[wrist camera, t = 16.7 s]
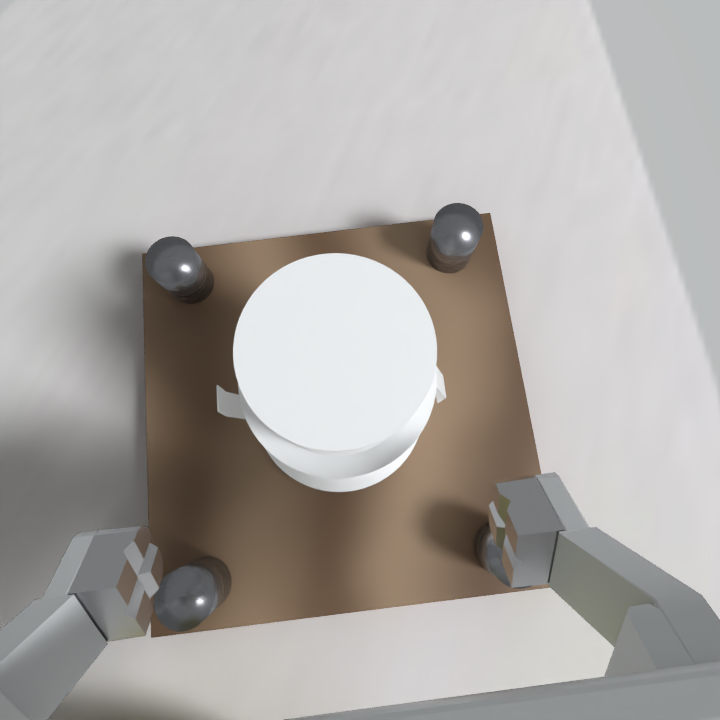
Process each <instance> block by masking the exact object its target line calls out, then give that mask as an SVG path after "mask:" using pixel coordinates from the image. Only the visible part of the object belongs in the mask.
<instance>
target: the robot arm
mask: <svg viewBox="0 0 720 720" xmlns="http://www.w3.org/2000/svg"><path fill="white" fill-rule="evenodd" d="M490 494H491V497H492V500H493V501H492V502H491V503H490V504H489V512H488V516H489V523H490V529H491V533H492V536H493V539H494V542H495V545H496V546H498V547H499V548H500V549H501V550H503V554H502V564H503V566H504V569H505V571H506V574H507V577H508V579H509V582H510V585H511V587H512V588H514V587H524V586H534V585H543V584H549V587H550V588H552V589H553V590H554V591H555V592H556V593H557V594H558V595H559V596H560V597H561V598H562V599H563V600H564V601H565V602H567V603H568V604H569V605H570V606H571V607H572V608H573V609H574V610H575V611H576V612H577V613H578V614H579V615H581V616H582V617H583V618H584V619H585V620H586V621H587V622H588V623H589V624H590V625H591V626H592V627H593V628H595V629H596V630H597V631H598V632H599V633H600V634H601V635H602V636H603V637H604V638H605V639H606V640H607V641H609V642H610V643H611V644H612V645H613V646H614V647H615V648H614V651H613V653H612V656H611V659H610V662H609V665H608V668H607V670H606V673H605V677H598V678H591V679H584V680H576V681H569V682H561V683H554V684H546V685H539V686H532V687H524V688H517V689H509V690H502V691H495V692H487V693H479V694H472V695H464V696H457V697H449V698H442V699H434V700H427V701H419V702H412V703H404V704H397V705H389V706H382V707H374V708H367V709H359V710H352V711H344V712H337V713H329V714H322V715H315V716H307V717H300V718H292V719H285V720H720V620H719V618H718V617H717V615H716V614H715V613H714V611H713V610H712V608H711V607H710V606H709V604H708V603H707V601H706V600H705V599H704V597H703V596H702V595H701V594H699V593H698V592H696V591H695V590H693V589H691V588H690V587H688V586H687V585H685V584H684V583H682V582H681V581H679V580H678V579H676V578H674V577H673V576H671V575H670V574H668V573H667V572H665V571H664V570H662V569H660V568H659V567H657V566H656V565H654V564H653V563H651V562H650V561H648V560H646V559H645V558H643V557H642V556H640V555H639V554H637V553H636V552H634V551H632V550H631V549H629V548H628V547H626V546H625V545H623V544H622V543H620V542H618V541H617V540H615V539H614V538H612V537H611V536H609V535H608V534H606V533H604V532H603V531H601V530H600V529H598V528H597V527H592V528H590V527H589V526H588V524H587V522H586V521H585V519H584V517H583V516H582V514H581V512H580V511H579V509H578V507H577V505H576V504H575V502H574V500H573V499H572V497H571V495H570V494H569V492H568V490H567V488H566V487H565V485H564V483H563V482H562V480H561V478H560V477H559V475H558V474H556V473H555V472H554V473H547V474H539V475H534V476H532V475H530V476H522V477H515V478H508V479H501V480H494V481H492V482H491V484H490ZM151 536H152V534H151V533H150V531H149V529H148V527H147V526H135V527H125V528H115V529H105V530H98V531H89V532H80V533H78V534H77V535H76V536H74V537H73V539H72V540H71V542H70V544H69V546H68V548H67V550H66V552H65V554H64V556H63V558H62V560H61V562H60V564H59V566H58V568H57V570H56V572H55V574H54V576H53V578H52V580H51V582H50V584H49V586H48V588H47V590H46V592H45V594H44V596H43V598H41V599H35V600H34V601H33V602H32V603H31V604H30V605H28V606H27V607H26V608H25V609H24V610H23V611H22V612H20V613H19V614H18V615H17V616H16V617H15V618H14V619H13V620H11V621H10V622H9V623H8V624H7V625H6V626H5V627H3V628H2V629H1V630H0V720H47V719H48V718H49V717H50V716H51V714H52V713H53V712H54V711H55V709H56V708H57V707H58V706H59V704H60V703H61V702H62V701H63V699H64V698H65V697H66V696H67V694H68V693H69V692H70V691H71V689H72V688H73V687H74V686H75V684H76V683H77V682H78V681H79V679H80V678H81V677H82V676H83V674H84V673H85V672H86V671H87V669H88V668H89V667H90V666H91V664H92V663H93V662H94V660H95V659H96V658H97V657H98V655H99V654H100V653H101V652H102V650H103V649H104V648H105V647H106V645H107V644H108V643H107V642H108V641H115V640H121V639H127V638H134V637H140V636H145V635H146V632H147V629H148V625H149V622H150V618H151V615H152V612H153V608H154V606H153V604H152V602H151V600H150V598H151V597H152V596H153V595H154V594H155V592H156V591H157V590H158V589H159V588H160V584H161V580H162V575H163V561H162V556H161V553H160V551H159V548H158V547H156V546H155V545H153V544H151V543H149V542H150V539H151Z"/></svg>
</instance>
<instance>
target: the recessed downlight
mask: <svg viewBox="0 0 720 720" xmlns="http://www.w3.org/2000/svg"><path fill="white" fill-rule="evenodd" d="M233 361H234V369H235V374H236V378H237V381H238V391H239V395H238V394H234V393H229V392H226V391H224V390H223V389H222V388H221V387H220V386H219V385H216V387H217V412H219V413H221V414H222V415H224V416H227V417H233V418H240V419H246V421H247V423H248V425H249V427H250V429H251V430H252V432H253V434H254V435H255V436H256V438H257V439H258V441H259V442H260V443H261V444H262V445H263V446H264V448H265V449H266V451H267V453H268V454H269V456H270V457H271V458H272V460H273V461H274V462H275V463H276V464H277V466H278V467H279V468H281V469H282V470H283V471H284V472H285V473H286V474H287V475H289V476H290V477H292V478H293V479H295V480H296V481H298V482H300V483H302V484H304V485H306V486H309V487H312V488H315V489H319V490H323V491H330V492H349V491H355V490H359V489H363V488H366V487H369V486H372V485H374V484H376V483H378V482H380V481H382V480H383V479H385V478H387V477H388V476H389V475H391V474H392V473H393V472H395V471H396V470H397V469H398V468H399V467H400V466H401V465H402V464H403V462H404V461H405V460H406V459H407V457H408V456H409V455H410V453H411V452H412V450H413V448H414V446H415V444H416V442H417V440H418V437H419V435H420V434H421V432H422V431H423V429H424V427H425V425H426V424H427V421H428V419H429V417H430V414H431V411H432V408H433V405H434V400H435V396H436V398H437V403H439V402H441V401H442V400H444V399H446V392H445V385H444V378H443V375H442V373H441V372H440V370H439V369H438V367H437V366H436V362H437V341H436V335H435V329H434V326H433V322H432V319H431V317H430V314H429V312H428V310H427V308H426V306H425V304H424V302H423V301H422V299H421V298H420V296H419V295H418V294H417V292H416V291H415V290H414V289H413V287H412V286H411V285H410V284H409V283H408V282H407V281H406V280H405V279H403V278H402V277H401V276H400V275H399V274H397V273H396V272H394V271H393V270H391V269H390V268H388V267H386V266H385V265H383V264H381V263H378V262H376V261H374V260H371V259H368V258H365V257H361V256H357V255H351V254H342V253H327V254H319V255H314V256H309V257H306V258H303V259H300V260H297V261H295V262H292V263H290V264H288V265H286V266H284V267H283V268H281V269H279V270H278V271H276V272H275V273H273V274H272V275H271V276H270V277H268V278H267V279H266V280H265V281H264V282H263V283H262V284H261V285H260V286H259V287H258V288H257V289H256V291H255V292H254V293H253V294H252V296H251V297H250V299H249V300H248V302H247V303H246V305H245V307H244V309H243V311H242V313H241V315H240V318H239V321H238V324H237V327H236V331H235V336H234V344H233Z"/></svg>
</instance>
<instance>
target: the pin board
mask: <svg viewBox="0 0 720 720" xmlns="http://www.w3.org/2000/svg"><path fill="white" fill-rule="evenodd" d="M327 253H342V254H351V255H357V256H361V257H365V258H368V259H371V260H374V261H376V262H378V263H381V264H383V265H385V266H386V267H388V268H390V269H391V270H393V271H394V272H396V273H397V274H399V275H400V276H401V277H402V278H403V279H405V280H406V281H407V282H408V283H409V284H410V285H411V286H412V287H413V289H414V290H415V291H416V292H417V294H418V295H419V296H420V298H421V299H422V301H423V302H424V304H425V306H426V308H427V310H428V312H429V314H430V317H431V319H432V322H433V326H434V329H435V335H436V341H437V362H436V366H437V367H438V369H439V370H440V372H441V373H442V375H443V378H444V385H445V392H446V399H444V400H442V401H441V402H439V403H437V398H436V396H435V400H434V405H433V408H432V411H431V414H430V417H429V419H428V421H427V424H426V425H425V427H424V429H423V431H422V432H421V434H420V435H419V437H418V440H417V442H416V444H415V446H414V448H413V450H412V452H411V453H410V455H409V456H408V457H407V459H406V460H405V461H404V462H403V464H402V465H401V466H400V467H399V468H398V469H397V470H396V471H395V472H393V473H392V474H391V475H389V476H388V477H387V478H385V479H383V480H382V481H380V482H378V483H376V484H374V485H372V486H369V487H366V488H363V489H359V490H355V491H349V492H330V491H323V490H319V489H315V488H312V487H309V486H306V485H304V484H302V483H300V482H298V481H296V480H295V479H293V478H292V477H290V476H289V475H287V474H286V473H285V472H284V471H283V470H282V469H281V468H279V467H278V466H277V464H276V463H275V462H274V461H273V460H272V458H271V457H270V456H269V454H268V453H267V451H266V449H265V448H264V446H263V445H262V444H261V443H260V442H259V441H258V439H257V438H256V436H255V435H254V434H253V432H252V430H251V429H250V427H249V425H248V423H247V421H246V419H240V418H233V417H227V416H224V415H222V414H221V413H219V412H217V387H216V385H219V386H220V387H221V388H222V389H223V390H224V391H226V392H229V393H234V394H238V395H239V391H238V381H237V378H236V374H235V369H234V361H233V344H234V336H235V331H236V327H237V324H238V321H239V318H240V315H241V313H242V311H243V309H244V307H245V305H246V303H247V302H248V300H249V299H250V297H251V296H252V294H253V293H254V292H255V291H256V289H257V288H258V287H259V286H260V285H261V284H262V283H263V282H264V281H265V280H266V279H267V278H268V277H270V276H271V275H272V274H273V273H275V272H276V271H278V270H279V269H281V268H283V267H284V266H286V265H288V264H290V263H292V262H295V261H297V260H300V259H303V258H306V257H309V256H314V255H319V254H327ZM142 261H143V304H144V347H145V390H146V433H147V476H148V519H149V531H150V533H151V534H152V536H151V539H150V542H149V543H151V544H153V545H155V546H156V547H158V548H159V551H160V553H161V556H162V561H163V575H162V580H161V584H160V588H159V589H158V590H157V591H156V592H155V594H154V595H153V596H152V597H151V598H150V600H151V602H152V604H153V606H154V608H153V612H152V615H151V638H152V637H160V636H168V635H176V634H184V633H192V632H200V631H208V630H216V629H224V628H232V627H240V626H247V625H255V624H263V623H271V622H279V621H287V620H295V619H303V618H311V617H319V616H327V615H335V614H343V613H351V612H359V611H367V610H374V609H382V608H390V607H398V606H406V605H414V604H422V603H430V602H438V601H446V600H454V599H462V598H470V597H478V596H486V595H494V594H502V593H509V592H517V591H525V590H533V589H541V588H549V584H543V585H534V586H524V587H514V588H512V587H511V585H510V582H509V579H508V577H507V574H506V571H505V569H504V566H503V564H502V554H503V550H501V549H500V548H499V547H498V546H496V545H495V542H494V539H493V536H492V533H491V529H490V523H489V516H488V512H489V504H490V503H491V502H492V501H493V500H492V497H491V494H490V484H491V482H492V481H494V480H501V479H508V478H515V477H522V476H530V475H532V476H534V475H539V474H541V470H540V465H539V460H538V455H537V450H536V445H535V439H534V434H533V429H532V424H531V419H530V414H529V409H528V404H527V399H526V394H525V388H524V383H523V378H522V373H521V368H520V363H519V358H518V353H517V348H516V343H515V338H514V332H513V327H512V322H511V317H510V312H509V307H508V302H507V297H506V292H505V287H504V281H503V276H502V271H501V266H500V261H499V256H498V251H497V246H496V241H495V236H494V231H493V225H492V220H491V215H490V213H486V214H479V213H478V212H477V211H476V210H475V209H474V208H472V207H471V206H469V205H466V204H462V203H453V204H449V205H447V206H445V207H443V208H442V209H441V210H440V211H439V212H438V213H437V214H436V216H435V219H434V220H426V221H418V222H409V223H401V224H392V225H383V226H375V227H366V228H358V229H349V230H341V231H332V232H324V233H315V234H307V235H298V236H290V237H281V238H273V239H264V240H256V241H247V242H239V243H230V244H221V245H213V246H204V247H196V248H193V247H192V246H191V245H190V243H188V242H187V241H186V240H184V239H182V238H179V237H165V238H162V239H160V240H158V241H157V242H155V243H154V244H153V245H152V246H151V247H150V249H149V250H148V252H147V253H145V254H142Z"/></svg>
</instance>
